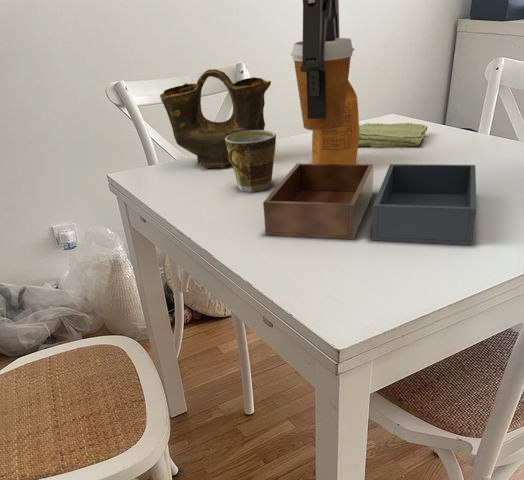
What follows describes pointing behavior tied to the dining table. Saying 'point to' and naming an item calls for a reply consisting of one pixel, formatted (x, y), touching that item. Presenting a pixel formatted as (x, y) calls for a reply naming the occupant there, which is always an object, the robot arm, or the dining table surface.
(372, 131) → the washcloth
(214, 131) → the pottery vessel
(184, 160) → the dining table surface
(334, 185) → the wood bin
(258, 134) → the ceramic cup
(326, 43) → the disposable coffee cup
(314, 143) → the coffee package
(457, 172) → the grey bin
